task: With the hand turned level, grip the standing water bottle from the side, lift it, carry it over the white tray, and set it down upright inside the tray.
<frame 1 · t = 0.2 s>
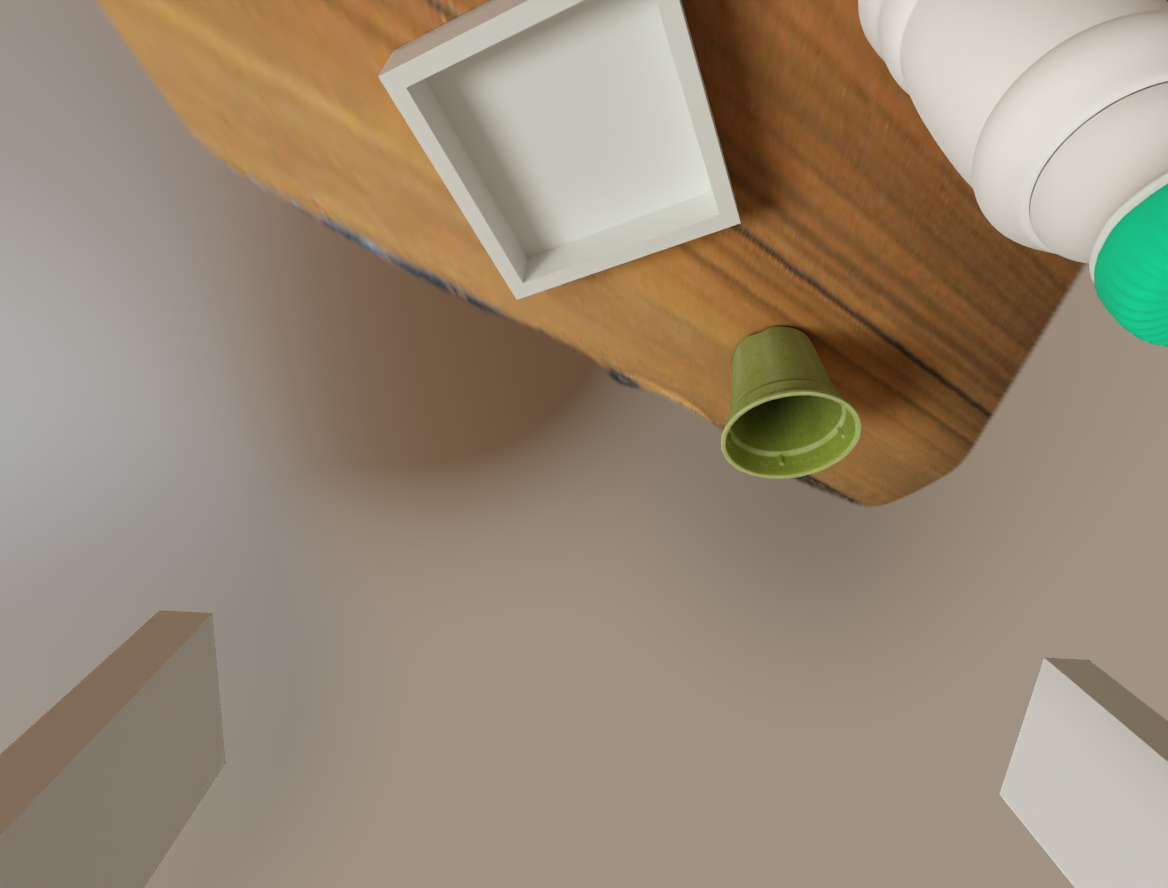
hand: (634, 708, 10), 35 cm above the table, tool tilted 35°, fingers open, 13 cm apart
plant pot: (771, 353, 51), on the table
white tray: (576, 126, 38), on the table
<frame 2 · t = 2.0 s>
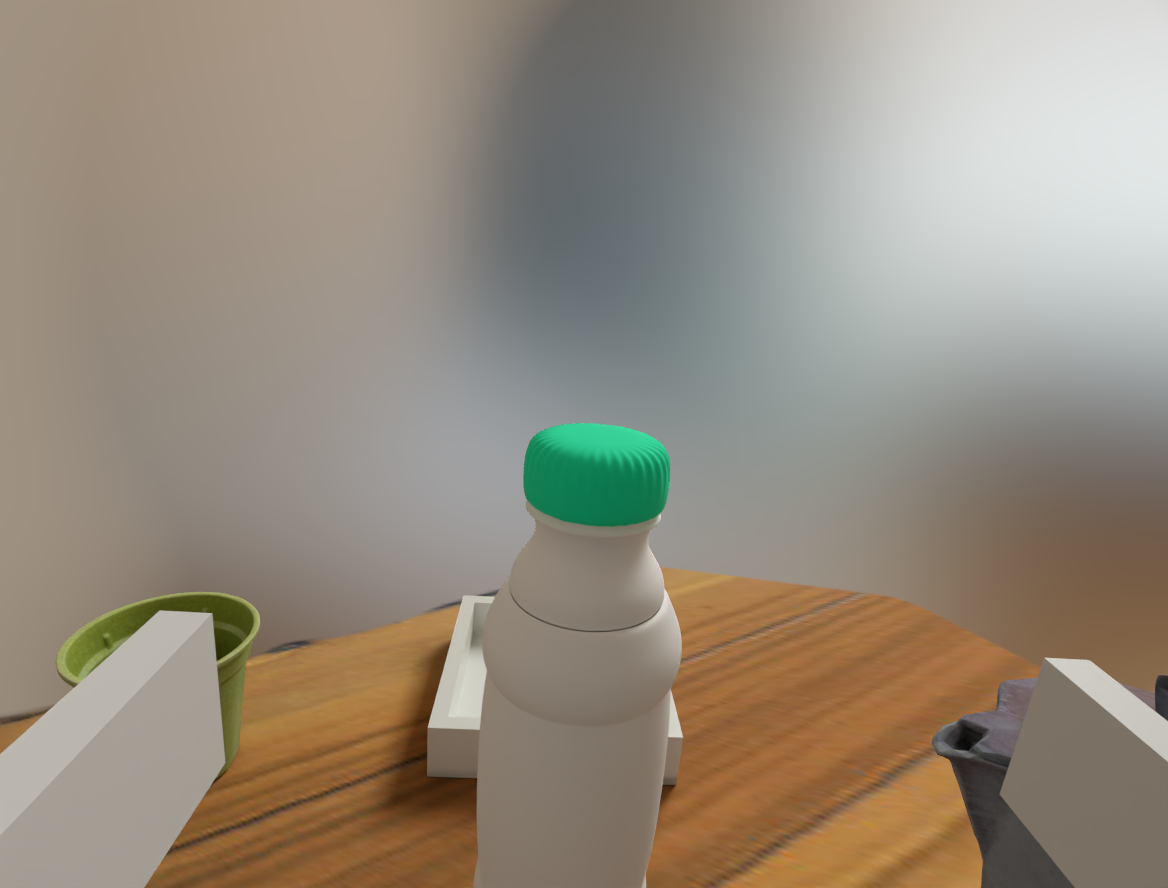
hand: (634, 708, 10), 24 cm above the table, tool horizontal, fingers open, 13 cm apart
plant pot: (180, 764, 38), on the table
white tray: (553, 698, 46), on the table
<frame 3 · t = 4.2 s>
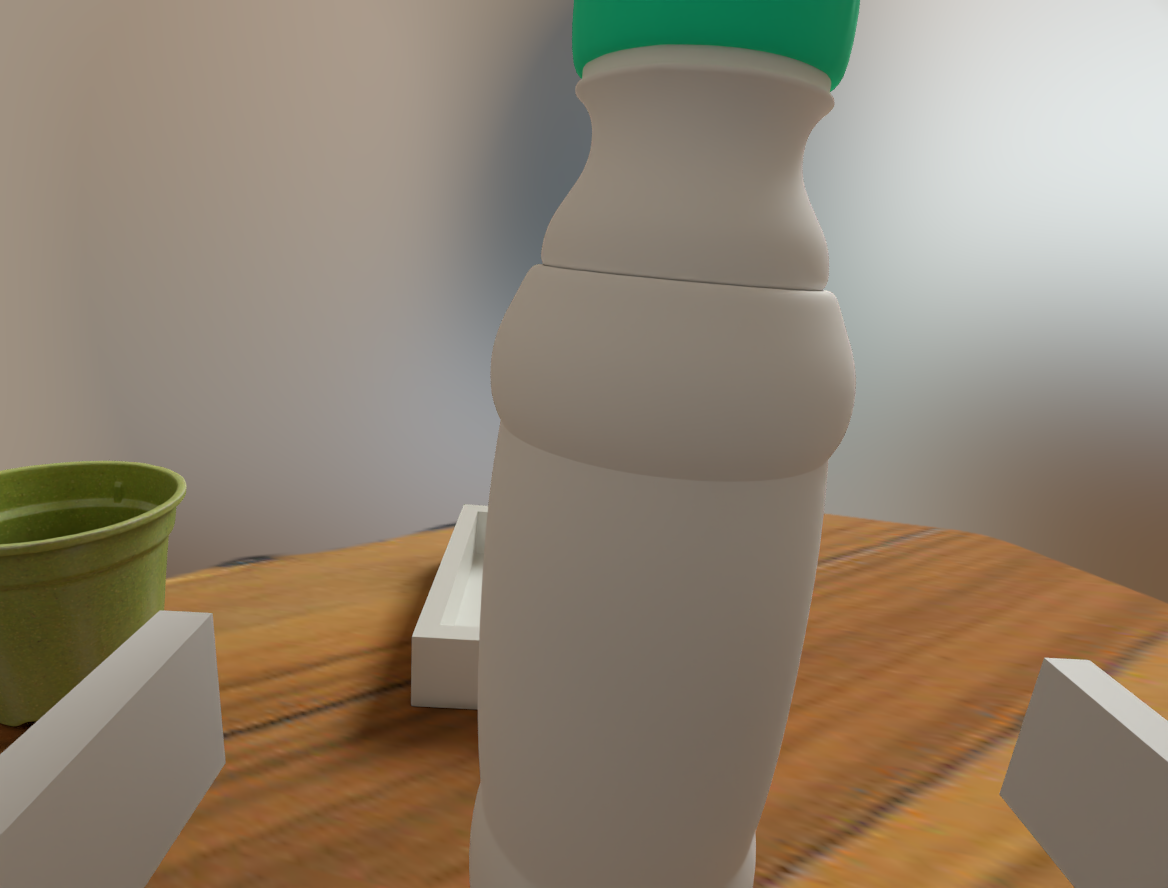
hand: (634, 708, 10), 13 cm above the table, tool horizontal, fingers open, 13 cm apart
plant pot: (78, 685, 28), on the table
white tray: (577, 622, 36), on the table
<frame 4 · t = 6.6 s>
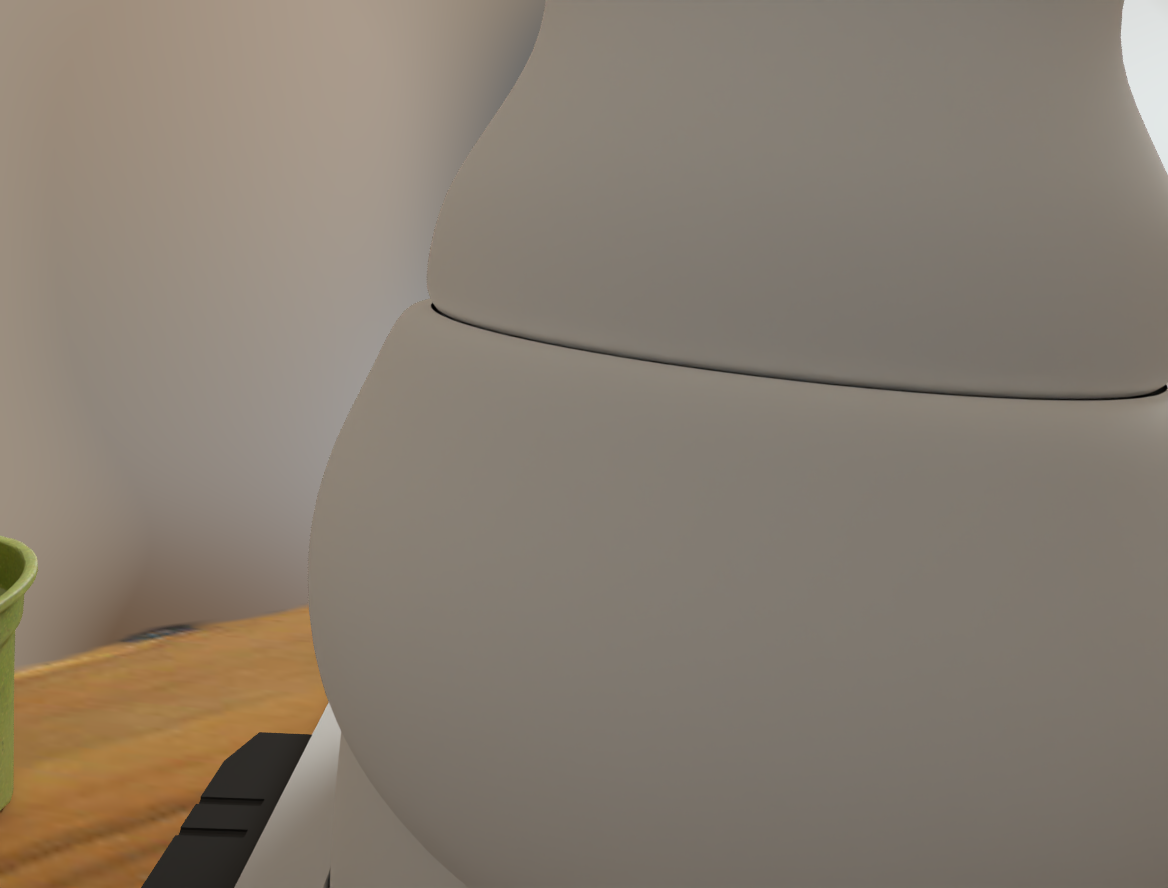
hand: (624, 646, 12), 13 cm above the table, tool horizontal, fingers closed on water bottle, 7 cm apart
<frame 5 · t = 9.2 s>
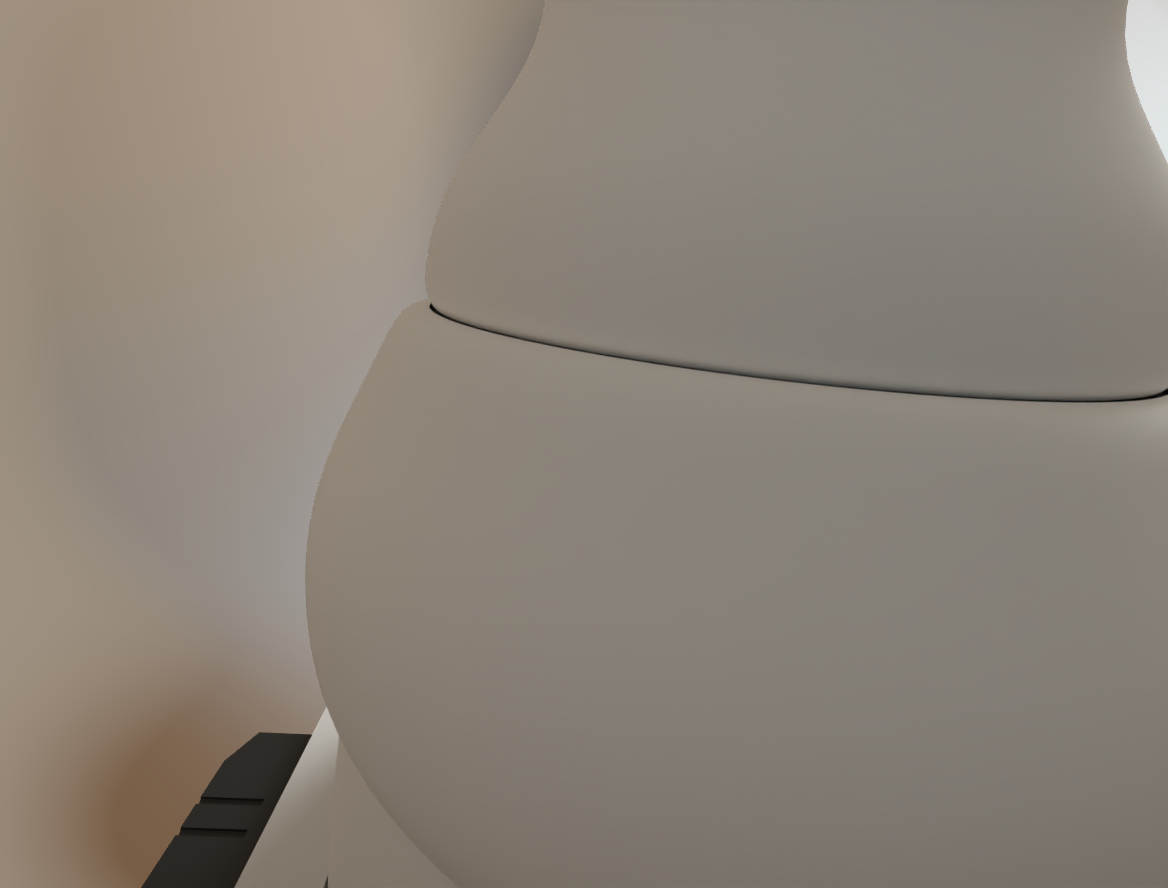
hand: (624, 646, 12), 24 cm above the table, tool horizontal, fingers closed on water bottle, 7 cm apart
when the fingers open (15 cm above the table, at t = 12.1 s): water bottle drops 1 cm, resting on white tray.
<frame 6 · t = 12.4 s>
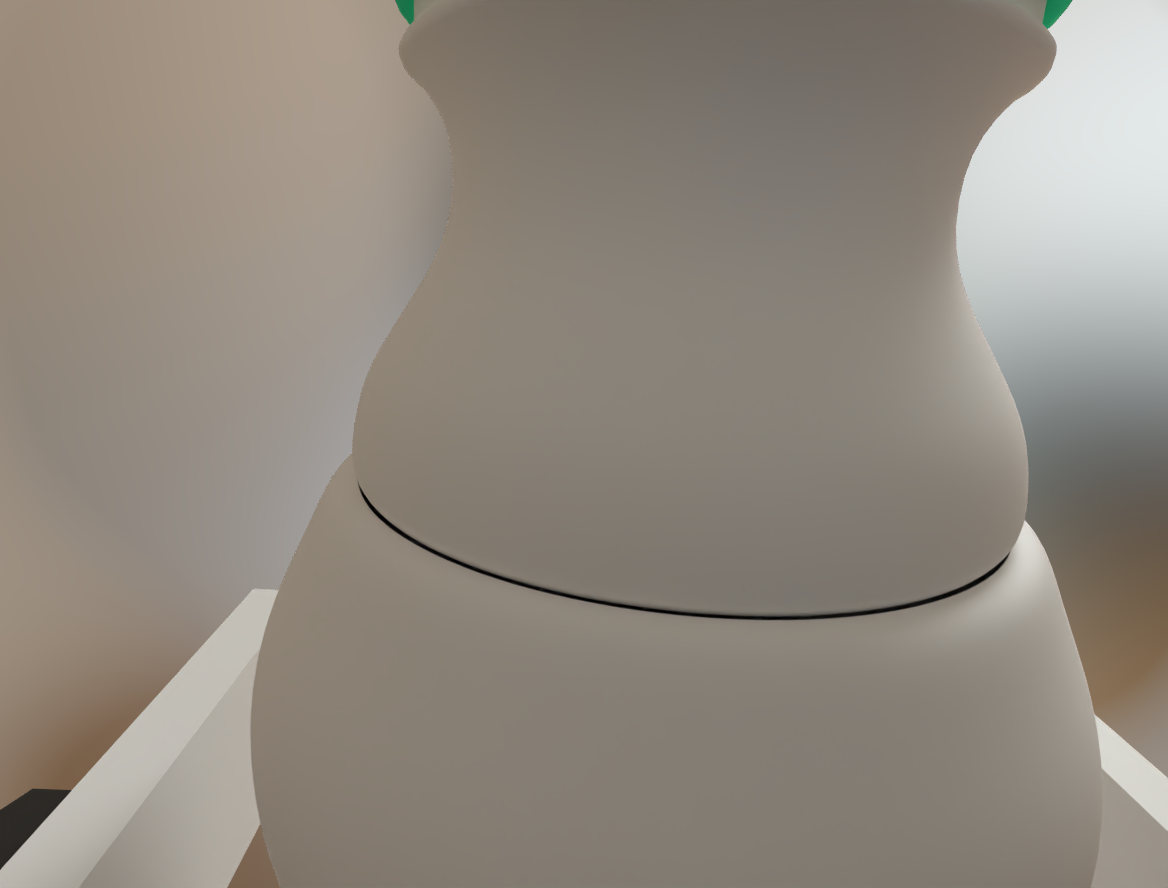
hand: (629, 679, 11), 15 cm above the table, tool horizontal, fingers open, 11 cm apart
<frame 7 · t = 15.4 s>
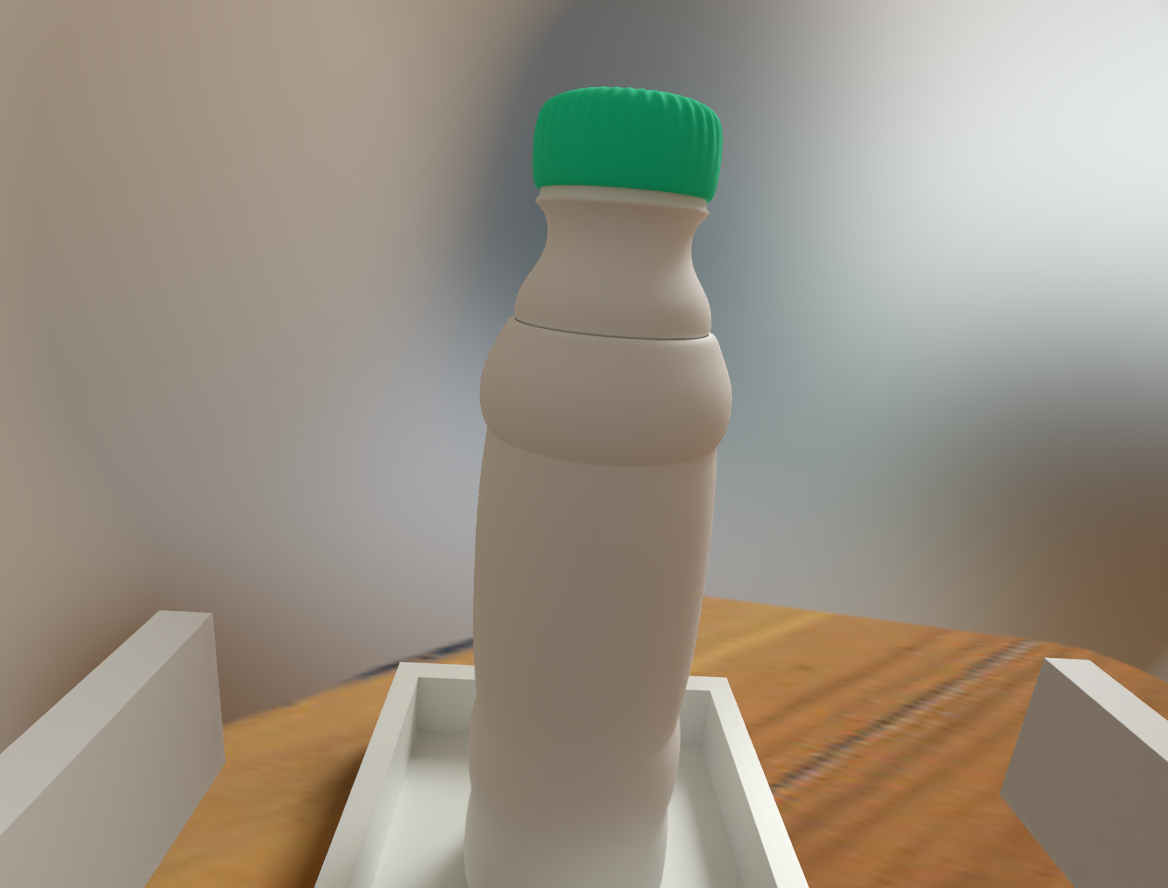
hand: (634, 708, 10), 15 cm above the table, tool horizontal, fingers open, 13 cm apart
water bottle: (562, 872, 24), resting on white tray
white tray: (560, 879, 24), on the table
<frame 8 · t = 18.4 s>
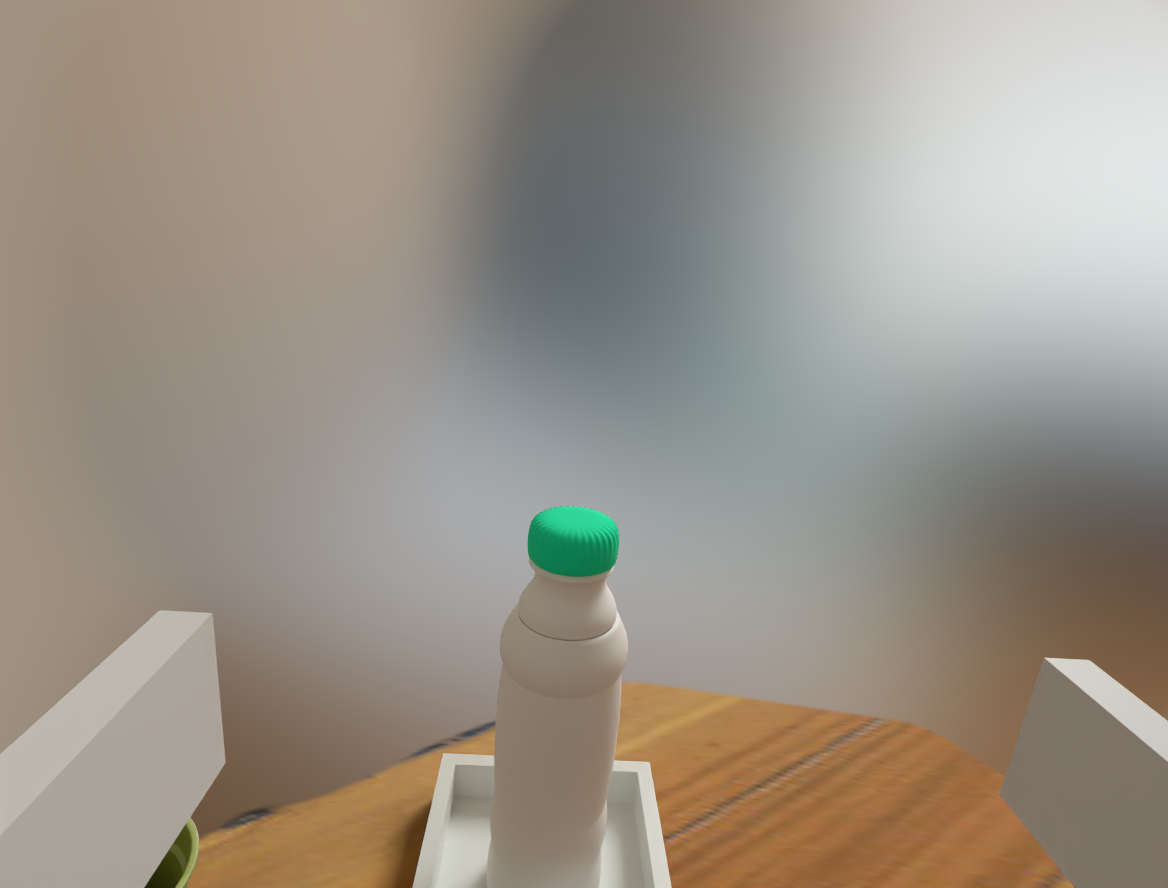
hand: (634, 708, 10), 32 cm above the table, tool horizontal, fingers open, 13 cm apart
water bottle: (542, 887, 41), resting on white tray
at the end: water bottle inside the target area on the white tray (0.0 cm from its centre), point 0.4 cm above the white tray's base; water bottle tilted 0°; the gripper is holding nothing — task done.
